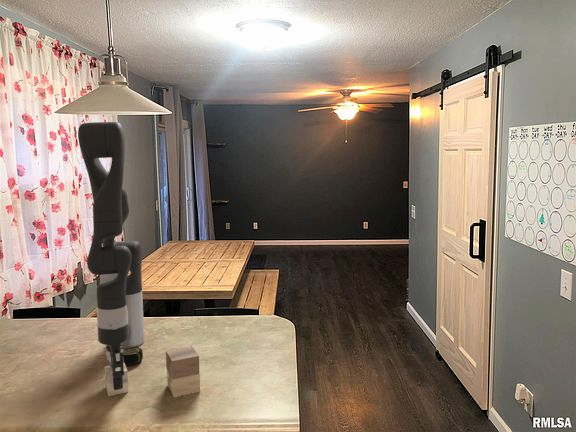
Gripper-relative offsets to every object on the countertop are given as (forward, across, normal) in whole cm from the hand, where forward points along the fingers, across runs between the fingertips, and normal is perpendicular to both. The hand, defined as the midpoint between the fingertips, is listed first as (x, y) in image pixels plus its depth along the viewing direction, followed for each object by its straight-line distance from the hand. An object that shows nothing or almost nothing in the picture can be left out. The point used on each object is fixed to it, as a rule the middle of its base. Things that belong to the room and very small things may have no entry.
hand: (115, 381), depth 130 cm
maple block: (+2, 0, 0) cm, 2 cm away
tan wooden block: (+3, +7, +16) cm, 18 cm away
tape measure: (+3, -16, +6) cm, 18 cm away
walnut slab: (-2, +7, +16) cm, 18 cm away
